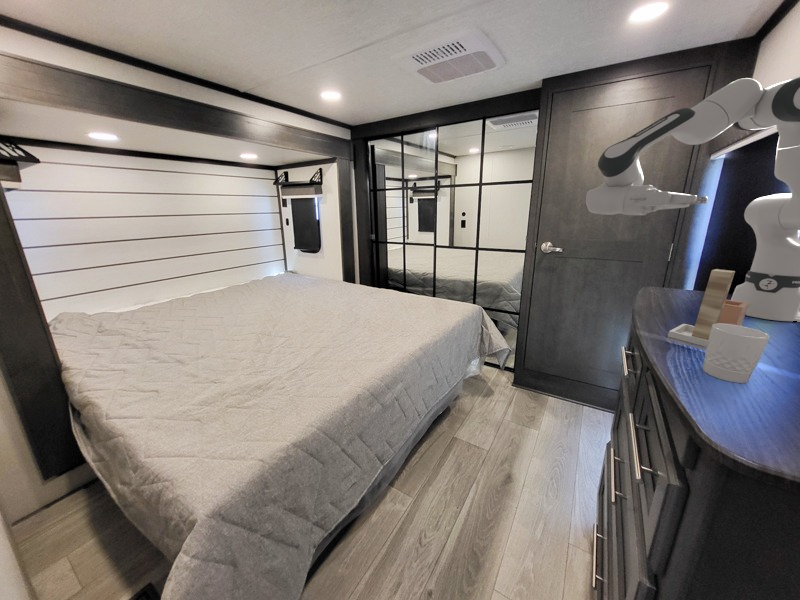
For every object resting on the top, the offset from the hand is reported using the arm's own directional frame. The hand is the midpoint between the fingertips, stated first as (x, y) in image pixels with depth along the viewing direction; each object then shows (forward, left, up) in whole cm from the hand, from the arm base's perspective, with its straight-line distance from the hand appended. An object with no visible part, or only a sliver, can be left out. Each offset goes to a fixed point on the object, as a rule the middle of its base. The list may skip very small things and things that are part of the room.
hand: (701, 199), depth 83 cm
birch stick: (+10, +10, -35) cm, 38 cm away
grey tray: (+10, +10, -36) cm, 39 cm away
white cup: (+28, +18, -36) cm, 49 cm away
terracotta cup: (-4, +10, -36) cm, 38 cm away
